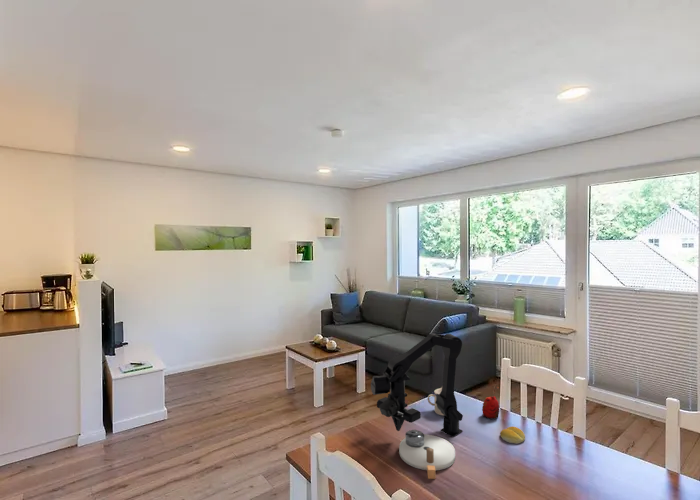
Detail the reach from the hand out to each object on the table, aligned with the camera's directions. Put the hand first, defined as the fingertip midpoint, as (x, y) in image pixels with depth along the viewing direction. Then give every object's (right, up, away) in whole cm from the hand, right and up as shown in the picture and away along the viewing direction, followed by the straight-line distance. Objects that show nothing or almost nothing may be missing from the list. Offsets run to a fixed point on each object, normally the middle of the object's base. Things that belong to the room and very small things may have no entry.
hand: (398, 430), depth 147 cm
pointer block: (+8, -4, -23) cm, 25 cm away
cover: (+5, -1, -7) cm, 9 cm away
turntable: (+9, -4, -11) cm, 15 cm away
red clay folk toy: (+44, -3, +18) cm, 47 cm away
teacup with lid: (+23, -3, +24) cm, 33 cm away
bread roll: (+45, -3, 0) cm, 45 cm away
